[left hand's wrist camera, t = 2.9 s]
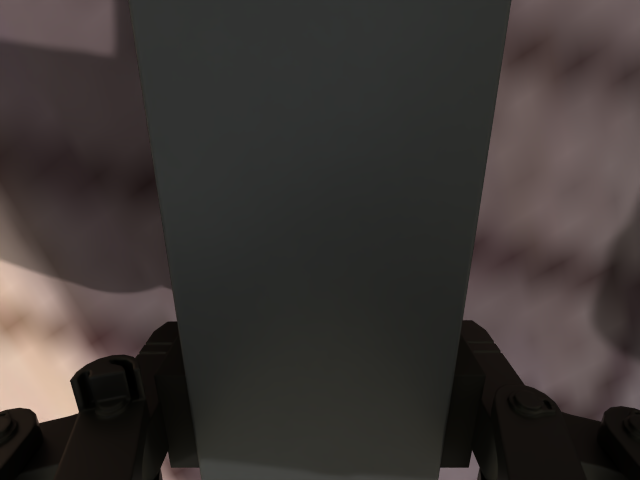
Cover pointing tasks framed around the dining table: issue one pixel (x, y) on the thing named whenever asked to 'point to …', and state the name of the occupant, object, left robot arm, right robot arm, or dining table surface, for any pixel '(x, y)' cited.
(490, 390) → the left robot arm
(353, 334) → the bar
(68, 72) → the dining table surface
